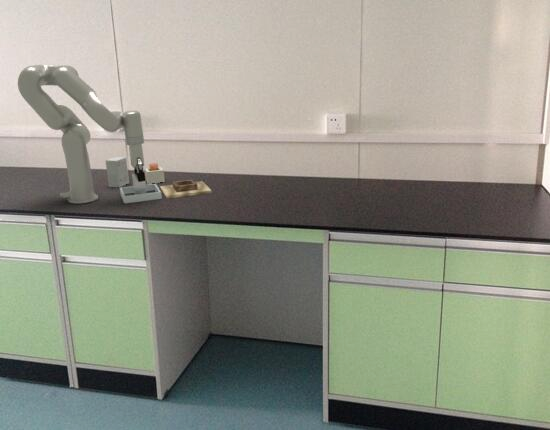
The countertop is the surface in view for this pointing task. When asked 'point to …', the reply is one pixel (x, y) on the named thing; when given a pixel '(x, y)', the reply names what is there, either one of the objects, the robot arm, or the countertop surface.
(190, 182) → the plate
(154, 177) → the button post
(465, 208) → the countertop surface
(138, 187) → the block
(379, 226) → the countertop surface
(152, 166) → the button
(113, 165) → the small box
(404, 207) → the countertop surface
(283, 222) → the countertop surface
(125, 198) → the tote tray
